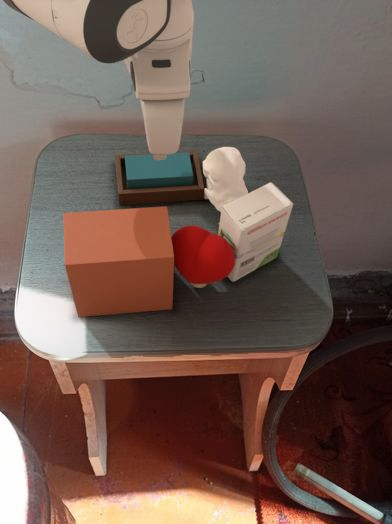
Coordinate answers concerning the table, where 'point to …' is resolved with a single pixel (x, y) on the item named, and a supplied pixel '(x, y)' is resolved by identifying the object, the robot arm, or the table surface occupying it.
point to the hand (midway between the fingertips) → (155, 132)
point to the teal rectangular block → (158, 171)
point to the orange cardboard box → (119, 260)
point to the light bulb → (201, 255)
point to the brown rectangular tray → (159, 193)
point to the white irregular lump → (224, 176)
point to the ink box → (255, 228)
